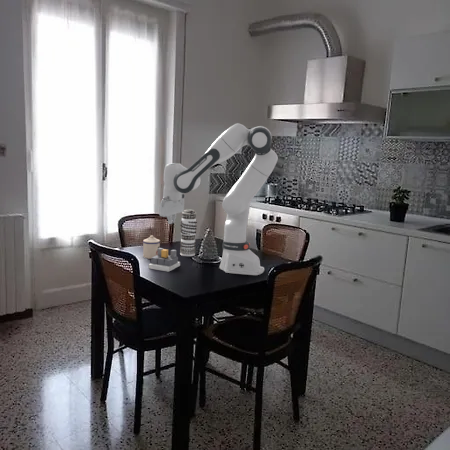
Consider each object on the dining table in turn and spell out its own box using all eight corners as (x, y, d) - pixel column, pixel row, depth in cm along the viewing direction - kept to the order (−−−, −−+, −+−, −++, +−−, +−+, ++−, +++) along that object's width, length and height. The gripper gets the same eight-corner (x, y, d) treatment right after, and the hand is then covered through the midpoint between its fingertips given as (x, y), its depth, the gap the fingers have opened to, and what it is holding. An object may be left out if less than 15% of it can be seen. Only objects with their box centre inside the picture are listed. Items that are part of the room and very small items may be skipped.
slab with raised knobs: (179, 265, 222) (180, 249, 220) (168, 271, 211) (169, 254, 209) (160, 262, 226) (160, 246, 224) (148, 268, 215) (148, 251, 213)
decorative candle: (197, 252, 250) (198, 209, 245) (194, 256, 240) (196, 211, 236) (181, 251, 250) (182, 208, 246) (178, 255, 241) (179, 210, 237)
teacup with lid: (159, 259, 232) (160, 237, 230) (142, 259, 231) (142, 237, 229) (159, 253, 244) (160, 233, 242) (143, 253, 243) (143, 232, 241)
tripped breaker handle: (168, 256, 218) (168, 249, 217) (165, 257, 216) (166, 250, 215) (163, 255, 219) (163, 249, 218) (161, 257, 217) (161, 250, 216)
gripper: (168, 198, 207) (167, 227, 210) (186, 194, 226) (185, 221, 229) (156, 197, 209) (155, 225, 212) (175, 193, 228) (175, 219, 231)
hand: (171, 223), depth 220 cm, fingers closed
